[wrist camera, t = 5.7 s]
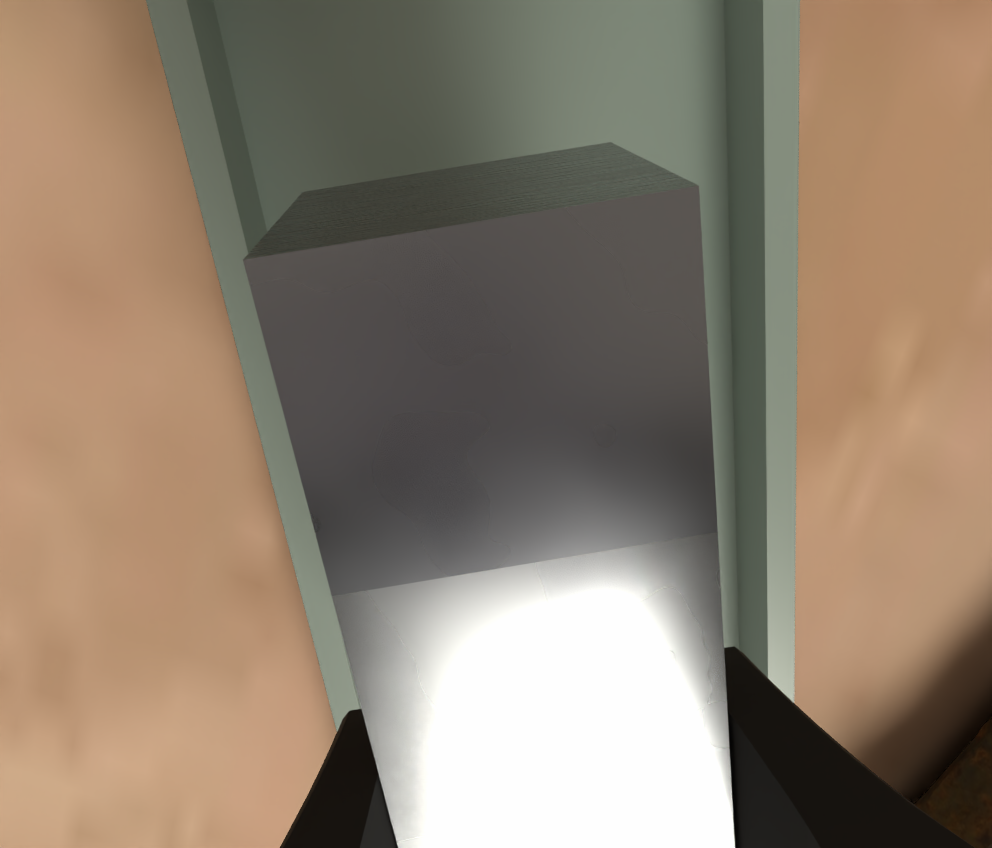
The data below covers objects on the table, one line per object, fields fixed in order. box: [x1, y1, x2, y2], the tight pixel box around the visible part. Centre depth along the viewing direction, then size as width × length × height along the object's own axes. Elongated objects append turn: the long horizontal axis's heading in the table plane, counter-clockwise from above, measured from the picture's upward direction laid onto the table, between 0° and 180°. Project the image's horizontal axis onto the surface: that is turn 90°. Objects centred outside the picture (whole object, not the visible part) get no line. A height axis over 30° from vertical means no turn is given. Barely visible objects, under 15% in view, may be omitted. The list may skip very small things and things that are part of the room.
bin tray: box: [146, 0, 800, 731], centre depth 19 cm, size 10×24×2 cm, turn 7°
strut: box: [243, 142, 735, 848], centre depth 12 cm, size 4×14×4 cm, turn 9°
